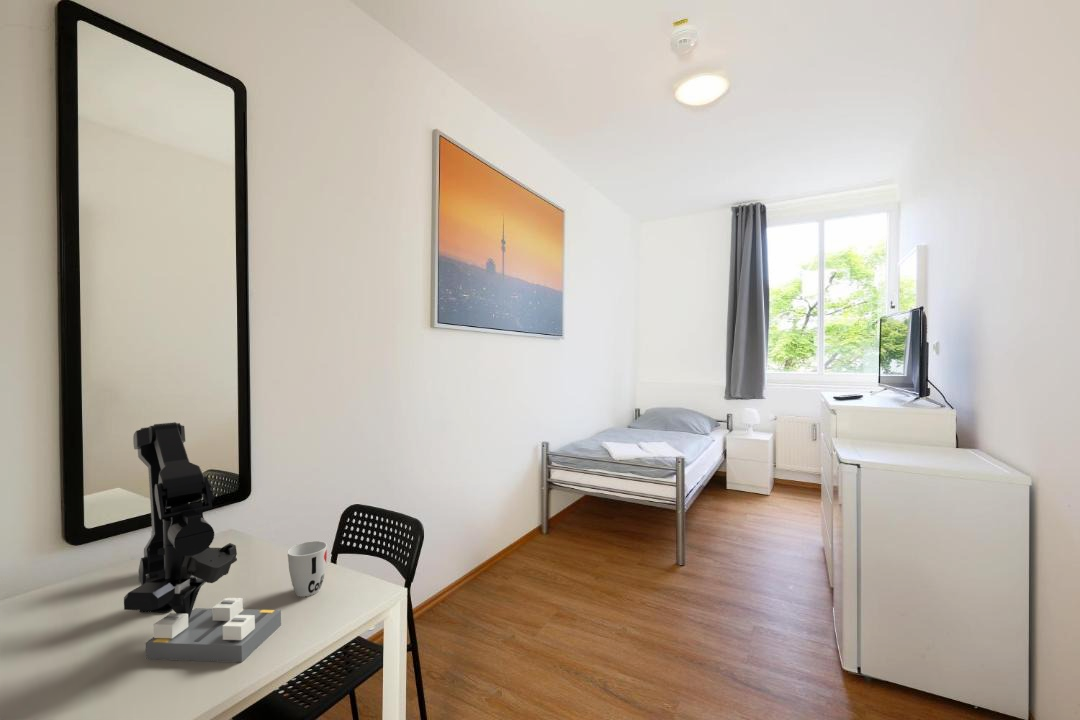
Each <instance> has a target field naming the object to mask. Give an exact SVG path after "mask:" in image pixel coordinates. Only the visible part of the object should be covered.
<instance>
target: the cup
mask: <svg viewBox="0 0 1080 720" xmlns="http://www.w3.org/2000/svg"><path fill="white" fill-rule="evenodd" d="M327 554H328V544H327V542H325V541H322V540H311V541H304V542H302V543H301V542H300V543H299V544H296V545H293V546H291V547H290V548H289V549H288V550H287V560H288V570H289V572H288V573H289V575H290V581H291V585H292V587H293V590H294V593H295V594H296V596H297V597H299V596H300V597H299V598H306V597H305V596H307V597H311V596H314V595H316V594H317V592H318V591H319V590H321V589H322V585H323V582H324V579H325V573H326V567H327V556H328V555H327ZM319 592H320V591H319ZM319 592H318V593H319ZM315 593H316V594H315ZM313 594H314V595H313ZM310 595H311V596H310Z"/></svg>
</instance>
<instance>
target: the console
mask: <svg viewBox="0 0 1080 720" xmlns="http://www.w3.org/2000/svg"><path fill="white" fill-rule="evenodd" d="M212 608H213V607H212ZM212 608H209V607H207V608H206V607H205V608H204V607H201V608H200V607H197V608H196V607H195V608H194V609H192V612H191V615H190V618H189V619H188V627H187V628H186V629H185V630H183V631H182V632H181V633H179V634H178V635H176V636H175V637H174V638H154V636H153V637H152V638H150V639H149V640H147V641H146V642H145V660H158V661H159V660H161V661H162V660H164V661H165V660H166V661H187V662H188V661H190V662H191V661H193V662H197V661H198V662H220V663H221V662H223V663H225V662H227V663H243V662H244V661H245V660H246V659H247V658H248V657H249V656H250V655H251V654H252V653H253V652H254V651H256V649H257V648H258V647H260V646H261V645H262V644H263V643H264V642H265V641H267V639H268V638H269V637H270V636H271V635H272V634H273V633H275V631H276V630H278V628H280V627H281V626H282V610H281V609H250V608H249V609H248V608H247V609H245V608H243V611H242V612H241V613H239V614H238V615H255V629H254V630H253V631H251V632H250V633H249V634H248V635H247V636H246V637H245V638H243V639H242V640H223V625H224V624H226V623H227V622H228V621H215V620H213V612H212Z"/></svg>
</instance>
